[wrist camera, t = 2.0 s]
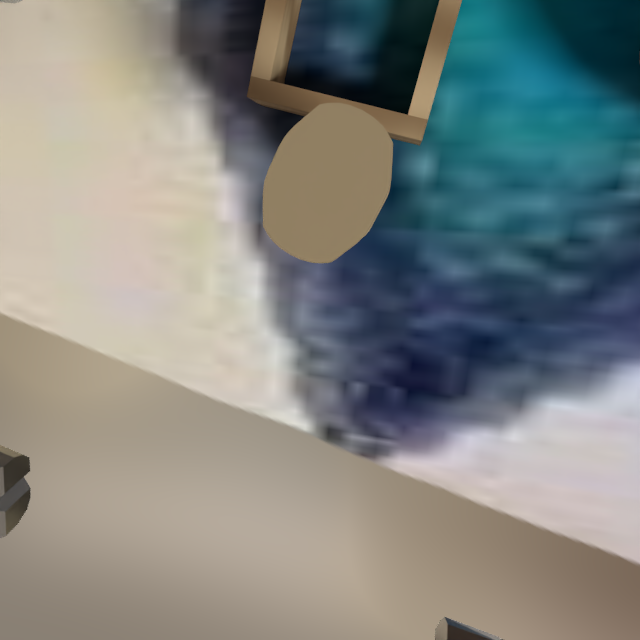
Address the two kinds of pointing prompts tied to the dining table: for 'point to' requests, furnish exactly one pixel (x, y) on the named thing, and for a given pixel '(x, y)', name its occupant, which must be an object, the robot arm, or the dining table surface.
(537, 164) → the dining table surface
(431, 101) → the cleat board
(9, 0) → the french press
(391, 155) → the handle
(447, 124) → the dining table surface
